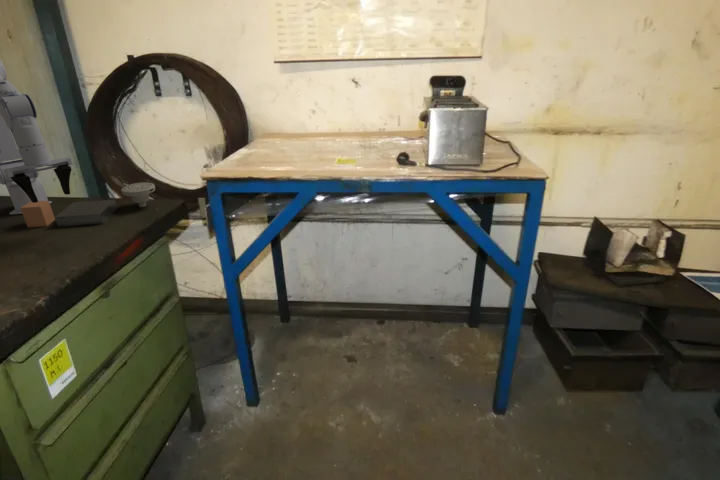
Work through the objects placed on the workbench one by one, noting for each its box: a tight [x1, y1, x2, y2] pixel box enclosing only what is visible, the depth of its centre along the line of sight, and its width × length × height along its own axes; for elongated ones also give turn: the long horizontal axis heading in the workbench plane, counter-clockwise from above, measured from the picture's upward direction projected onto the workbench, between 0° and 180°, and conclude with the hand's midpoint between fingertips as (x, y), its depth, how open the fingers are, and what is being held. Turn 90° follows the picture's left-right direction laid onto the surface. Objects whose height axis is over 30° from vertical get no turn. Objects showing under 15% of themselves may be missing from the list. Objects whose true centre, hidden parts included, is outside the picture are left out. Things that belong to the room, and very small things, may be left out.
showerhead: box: [120, 181, 156, 208], centre depth 133 cm, size 9×7×10 cm
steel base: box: [54, 199, 118, 228], centre depth 125 cm, size 12×12×3 cm
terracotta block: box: [21, 200, 56, 228], centre depth 121 cm, size 5×5×6 cm
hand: (51, 198), depth 110 cm, fingers open, 7 cm apart
